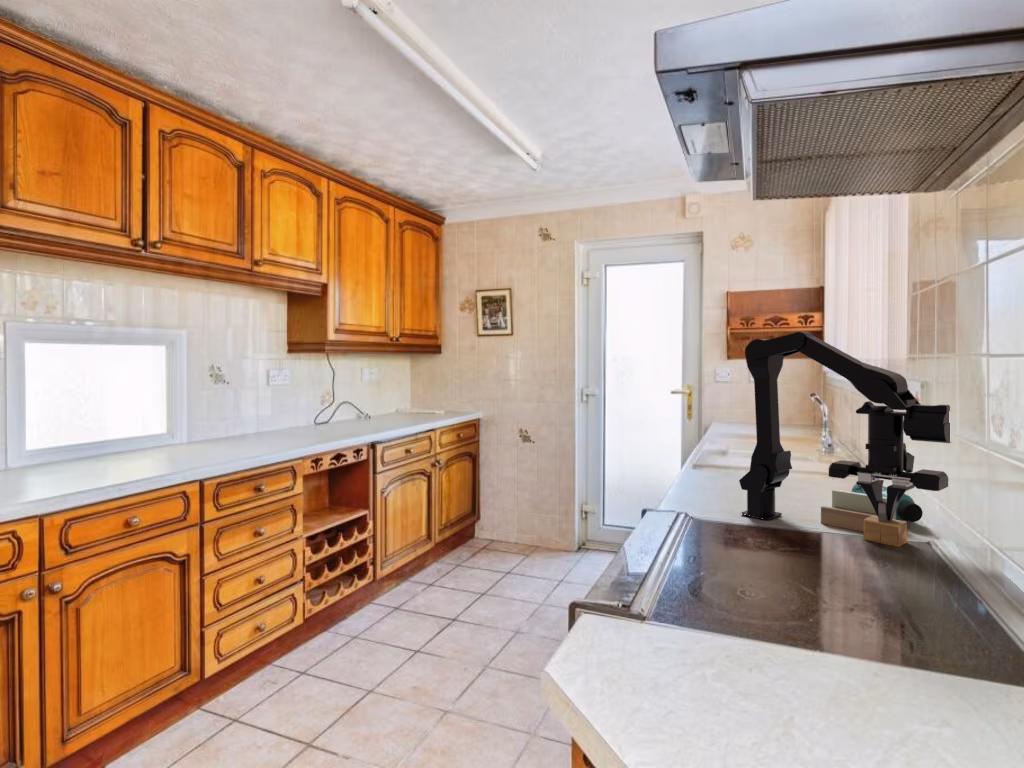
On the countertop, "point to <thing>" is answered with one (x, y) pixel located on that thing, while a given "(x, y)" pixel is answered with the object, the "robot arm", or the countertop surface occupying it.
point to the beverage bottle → (900, 506)
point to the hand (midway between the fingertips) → (885, 519)
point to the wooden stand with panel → (848, 510)
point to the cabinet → (885, 528)
